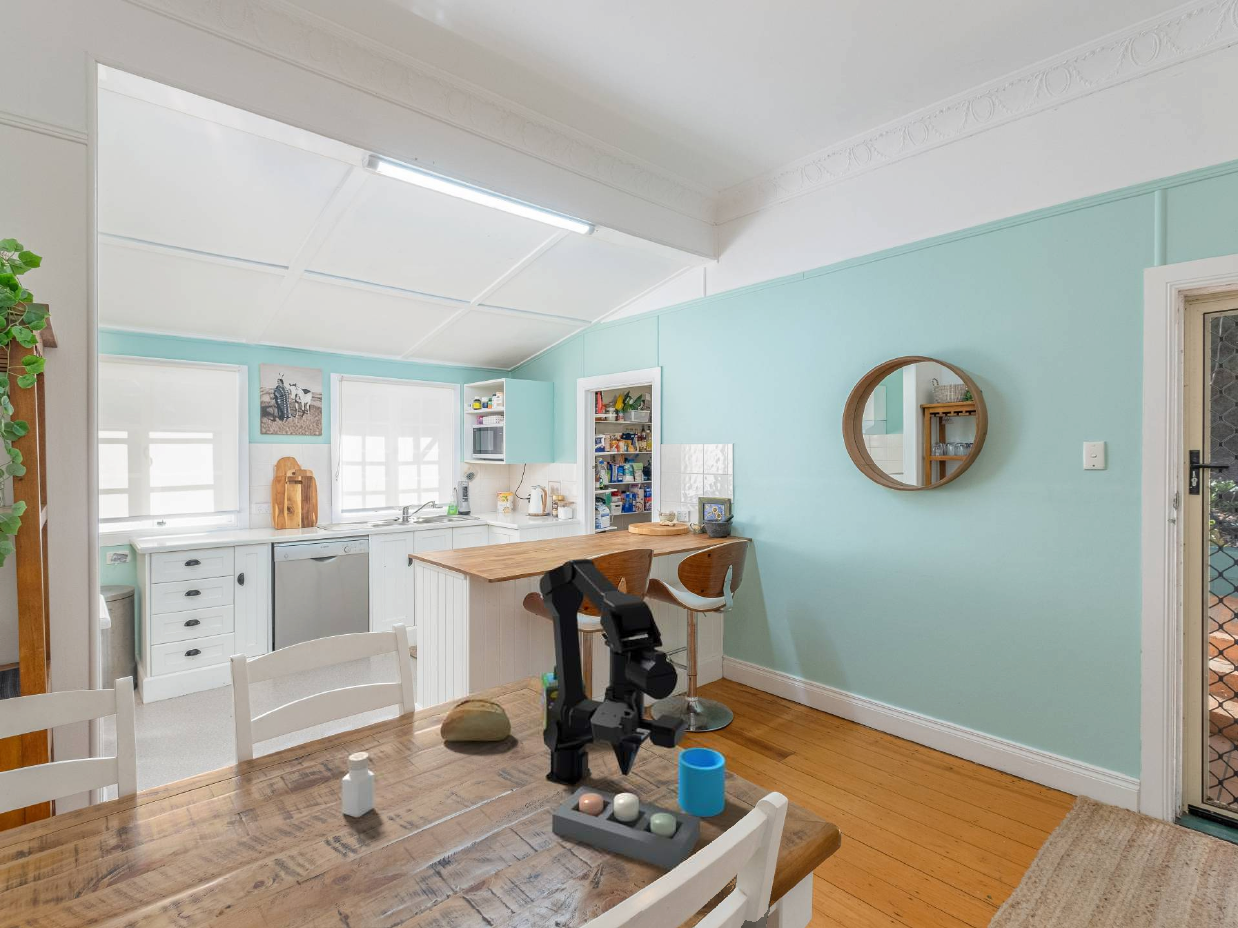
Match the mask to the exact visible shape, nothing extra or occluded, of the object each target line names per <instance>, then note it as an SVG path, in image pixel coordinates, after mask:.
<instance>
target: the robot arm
mask: <svg viewBox="0 0 1238 928" xmlns="http://www.w3.org/2000/svg"><path fill="white" fill-rule="evenodd" d="M539 591H540V593H541V596H542V603H543V605H544V606H545V607H546V609H547V611H548V612H549V614H551V616H552V617H551V618H552V625H553V626H552V627H553V628H552V629H553V638H554V639H553V640H554V651H555V652H554V654H555V655H554V656H555V666H556V668H557V682H558V695H557V697H556V699H555V701H554V704H553V706H552V708H551V721H550V722H549V724H548V725H547V727H546V728H545V730H543V731H542V736H543V737H542V738H543V743H544V745H545V746H546V747H547V748H548V749H549V750H550V768H549V769H550V772H547V774H546V775H545V778H546V780H550V781H553V782H558V783H562V784H565V785H568V786H571V787H574V786H575V787H576V786H577V785H578V784H579V783H580V782H581V781H582V780H583V779H584V778H585V777H586V776H588V775H589V774H590V773H591V769H590V768H589V752H588V751H587V745H589V744H591V745H593V744H594V741H595V740H596V741H605V742H608V743H610V745H611V747H612V750H613V752H614V754H615V757H616V760H617V763H618V766H619V769H620V772H621V775H622V776H625V777H628V775H630V773H631V770H632V768H633V765H634V763H635V760H636V758H637V756H638V755H637V754H638V753H639V751H640V748H641V746H642V744H643V743H644V742H646V741H647V740H648V739H649V740H650V742H651V744H653V746H657V747H661V748H666V749H669V750H670V749H675V748H676V747H677V746H678V744H679V743H680V742H681V741H682V740H683V739H684V738H685V737H686V734H687V733H686V732H687V730H686V729H687V725H686V723H685V721H684V719H683V718H682V717H678V716H673V715H668V714H663V713H662V714H661V715H659V717H658V718H657V719H656V720H653V719H652V718H647V717H645V716H646V714H647V713H648V706H645V695H647V696H648V697H650V698H651V699H654V700H658V701H662V700H665V699H667V698H668V697H669V696H671V695H672V693H673V692H674V691H675V689H676V687H677V683H678V679H679V676H678V675H679V674H678V673H677V670H676V668H675V666H674V665H673V664H672V662H669V661H668V660H667V659H668V658H667V653H666V652H665V651H663V650H658V649H656V648H661V647H663V641H662V639H661V636H662V634H661V631H660V630H659V627H658V626H657V622H656V621H655V619H654V615H653V612H652V610H651V609H650V606H649V605H648V603H647V602H646V601H645V600H643V599H642V598H639V597H637V596H636V595H634V594H630V593H625V592H623V591H621V590H620V589H619V588H617V586H616V585H615V584H614V583H613V582H612V581H610V580H609V578H607V577H606V576H605V575H604V574H603V573H602V572H601V570H599V569H598V568H597V567H596V565H595V562H594V561H593V559H592V560H591V559H588V558H578V559H577V558H576V559H569V560H568V561H565V562H564V563H563V564H562V565H559V566H557V567H555V568H553V569H551V570H550V569H549V570H547V571H545V573H544V574H543V576H541V578H540V579H539ZM585 597H586V598H587V600H588V601H589V602H590V603H591V605H593V607H594V608H595V609H596V610H597V611H598V612H599V615H600V618H599V624H600V626H601V628H602V629H603V631H604V632H605V635H606V636H607V639H606V640H604V645H605V646H606V647H608V648H609V676H608V677H609V679H608V680H609V683H608V686H607V687H605V692H604V698H603V701H601V700H593V699H590V698H589V697H588V696H587V694H585V693H584V690H583V680H582V677H583V669H582V656H581V648H580V647H581V646H580V632H579V620H578V614H579V611H580V609H581V607H582V605H583V602H584V600H585ZM646 635H647V636H646ZM642 636H644V637H642ZM636 637H637V638H636ZM638 637H639V638H638ZM630 638H631V639H630Z"/></svg>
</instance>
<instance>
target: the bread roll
mask: <svg viewBox="0 0 1238 928" xmlns="http://www.w3.org/2000/svg"><path fill="white" fill-rule="evenodd" d="M439 731H440V737H441V738H442V739H443V740H445V741H448V742H454V741H457V742H458V741H459V742H460V741H461V742H462V741H464V742H465V741H466V742H467V741H468V742H469V741H472V742H474V741H479V742H480V741H482V742H483V741H485V742H491V741H492V742H495V741H503V740H504V739H506V738H507V737H508V736H509V735H510V733H511V731H512V726H511V721H510V719H509V717H508V715H507V713H506V711H505V708H504V707H503V706H502V705H500V704H499V703H498V702H496V701H495V700H491V699H487V698H472V699H467V700H464V701H461V702H460V703H458V704H456V705H455V707H453V709H452V710H451V711H450V712H448V714H447V716H446V717H445V719H444V721H443V722H442V724H441V727H440V729H439Z"/></svg>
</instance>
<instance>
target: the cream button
mask: <svg viewBox="0 0 1238 928" xmlns="http://www.w3.org/2000/svg"><path fill="white" fill-rule="evenodd" d="M616 795H617V796H615V798H614V816H615V817H616V818H617V819H619V820H621V821H632V820H635V819H636V818H637V817H638V812H639V800H640V799H639V797H638V796H637V795H636V794H634V793H629V792H622V793H619V794H616Z"/></svg>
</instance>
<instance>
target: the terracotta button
mask: <svg viewBox="0 0 1238 928" xmlns="http://www.w3.org/2000/svg"><path fill="white" fill-rule="evenodd" d="M579 812H581V813H584V814H588V815H591V816H595V817H598V816H599V815H600V814H601V813H602V812H603V797H602V796H600V795H599V794H595V793H588V794H584V795H582V796H581V797H580V799H579Z"/></svg>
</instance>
